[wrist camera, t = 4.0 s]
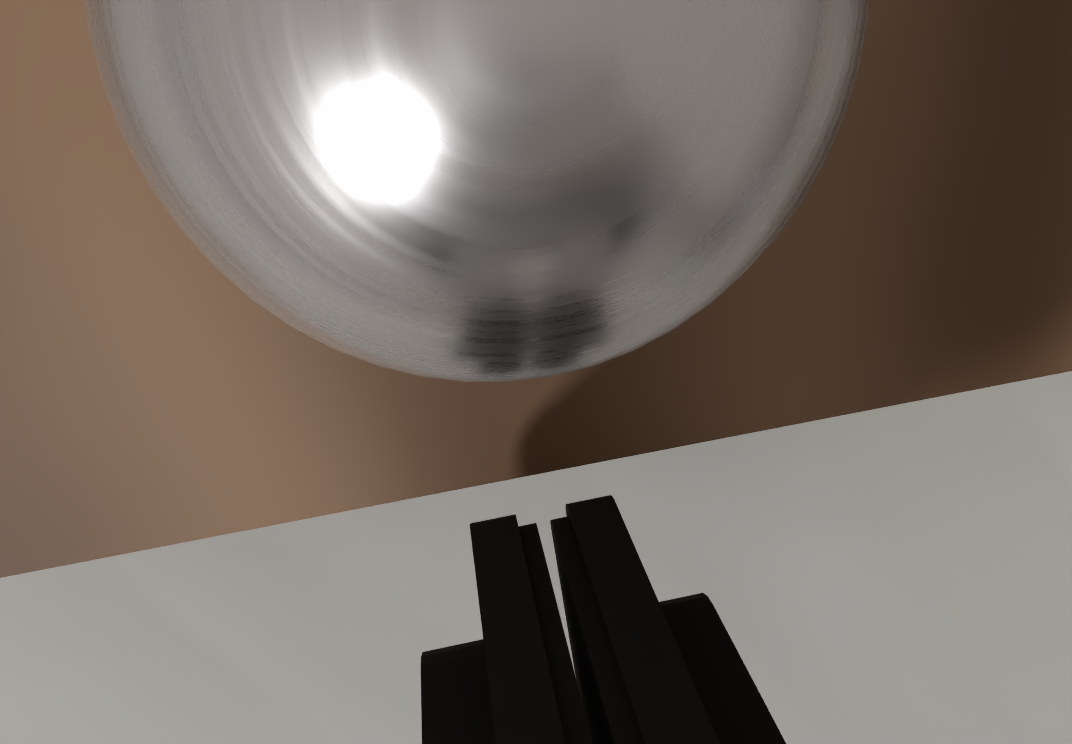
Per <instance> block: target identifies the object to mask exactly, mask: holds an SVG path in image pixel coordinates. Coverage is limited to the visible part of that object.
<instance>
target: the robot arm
mask: <svg viewBox="0 0 1072 744" xmlns="http://www.w3.org/2000/svg"><path fill="white" fill-rule="evenodd" d="M566 515H567V517H563V518H558V519H554V520H551V530H552V536H553V542H554V548H555V554H556V560H557V566H558V572H559V578H560V584H561V590H562V596H563V602H564V608H565V614H566V621H567V627H568V633H569V639H570V645H571V651H572V657H573V663H574V669H575V673H574V669H573V665H572V661H571V657H570V653H569V650H568V646H567V642H566V638H565V634H564V630H563V626H562V622H561V618H560V614H559V610H558V606H557V603H556V599H555V595H554V591H553V587H552V583H551V579H550V575H549V571H548V567H547V563H546V559H545V556H544V552H543V548H542V544H541V540H540V536H539V532H538V528H537V525H536V523H534V524H529V525H524V526H519V527H518V523H517V519H516V515H510V516H505V517H500V518H495V519H490V520H486V521H481V522H476V523H471V524H470V531H471V539H472V547H473V556H474V564H475V572H476V581H477V589H478V597H479V606H480V614H481V622H482V631H483V640H478V641H473V642H468V643H464V644H459V645H454V646H450V647H445V648H440V649H435V650H431V651H426V652H423V653H422V656H421V706H422V744H786V743H785V741H784V739H783V737H782V735H781V733H780V731H779V729H778V727H777V725H776V724H775V722H774V720H773V718H772V716H771V714H770V712H769V710H768V708H767V706H766V705H765V703H764V701H763V699H762V697H761V695H760V693H759V691H758V689H757V687H756V686H755V684H754V682H753V680H752V678H751V676H750V674H749V672H748V670H747V668H746V667H745V665H744V663H743V661H742V659H741V657H740V655H739V653H738V651H737V649H736V648H735V646H734V644H733V642H732V640H731V638H730V636H729V634H728V632H727V630H726V629H725V627H724V625H723V623H722V621H721V619H720V617H719V615H718V613H717V611H716V610H715V608H714V606H713V604H712V602H711V601H710V599H709V598H708V596H707V595H705V594H704V593H700V594H695V595H691V596H686V597H681V598H676V599H672V600H667V601H662V602H658V599H657V597H656V595H655V592H654V590H653V588H652V586H651V583H650V581H649V579H648V576H647V574H646V572H645V569H644V567H643V565H642V562H641V560H640V558H639V556H638V553H637V551H636V549H635V546H634V544H633V542H632V539H631V537H630V535H629V533H628V530H627V528H626V526H625V523H624V521H623V519H622V516H621V514H620V512H619V509H618V507H617V505H616V503H615V500H614V498H613V497H612V496H611V495H609V496H604V497H599V498H595V499H590V500H585V501H580V502H575V503H570V504H566ZM575 675H576V677H575Z"/></svg>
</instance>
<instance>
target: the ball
mask: <svg viewBox="0 0 1072 744" xmlns="http://www.w3.org/2000/svg"><path fill="white" fill-rule="evenodd" d="M868 4H869V0H85V7H86V15H87V23H88V29H89V33H90V37H91V41H92V44H93V48H94V52H95V56H96V60H97V64H98V68H99V72H100V76H101V80H102V83H103V86H104V88H105V91H106V94H107V96H108V99H109V101H110V104H111V106H112V109H113V111H114V114H115V117H116V119H117V122H118V124H119V127H120V129H121V132H122V135H123V137H124V139H125V140H126V142H127V144H128V146H129V148H130V150H131V152H132V153H133V155H134V157H135V159H136V161H137V163H138V165H139V166H140V168H141V170H142V172H143V174H144V176H145V178H146V180H147V181H148V183H149V185H150V186H151V188H152V189H153V190H154V192H155V193H156V195H157V196H158V198H159V199H160V200H161V202H162V203H163V205H164V206H165V208H166V209H167V210H168V212H169V213H170V215H171V216H172V218H173V219H174V220H175V222H176V223H177V225H178V226H179V227H180V229H181V230H182V231H183V232H184V233H185V234H186V235H187V237H188V238H189V239H190V240H191V241H192V242H193V243H194V244H195V245H196V247H197V248H198V249H199V250H200V251H201V252H202V253H203V254H204V256H205V257H206V258H207V259H208V260H209V261H210V262H211V263H212V264H213V266H214V267H215V268H217V269H218V270H219V271H220V272H221V273H222V274H223V275H224V276H226V277H227V278H228V279H229V280H230V281H231V282H232V283H234V284H235V285H236V286H237V287H238V288H239V289H240V290H241V291H243V292H244V293H245V294H246V295H247V296H248V297H249V298H251V299H252V300H253V301H254V302H256V303H257V304H259V305H260V306H262V307H263V308H265V309H266V310H268V311H269V312H270V313H272V314H273V315H275V316H276V317H278V318H279V319H281V320H282V321H284V322H285V323H286V324H288V325H289V326H291V327H292V328H294V329H296V330H298V331H300V332H302V333H304V334H306V335H308V336H309V337H311V338H313V339H315V340H317V341H319V342H321V343H323V344H325V345H327V346H328V347H330V348H332V349H334V350H337V351H340V352H342V353H345V354H347V355H350V356H353V357H355V358H358V359H361V360H363V361H366V362H369V363H371V364H374V365H376V366H380V367H384V368H388V369H393V370H397V371H401V372H405V373H409V374H413V375H417V376H421V377H430V378H438V379H446V380H454V381H463V382H509V381H517V380H525V379H534V378H542V377H550V376H554V375H558V374H562V373H567V372H571V371H575V370H579V369H583V368H587V367H591V366H594V365H597V364H599V363H602V362H605V361H607V360H610V359H612V358H615V357H618V356H620V355H623V354H626V353H628V352H631V351H633V350H635V349H637V348H639V347H641V346H643V345H645V344H647V343H649V342H651V341H653V340H654V339H656V338H658V337H660V336H662V335H664V334H666V333H668V332H670V331H672V330H673V329H675V328H676V327H678V326H679V325H680V324H682V323H683V322H685V321H686V320H688V319H689V318H691V317H692V316H694V315H695V314H697V313H698V312H699V311H701V310H702V309H704V308H705V307H707V306H708V305H709V304H711V303H712V302H713V301H714V300H715V299H716V298H717V297H719V296H720V295H721V294H722V293H723V292H724V291H725V290H727V289H728V288H729V287H730V286H731V285H732V284H733V283H735V282H736V281H737V280H738V279H739V278H740V277H742V276H743V274H744V273H745V272H746V271H747V270H748V269H749V268H750V267H751V266H752V265H753V263H754V262H755V261H756V260H757V259H758V258H759V257H760V256H761V255H762V254H763V252H764V251H765V250H766V249H767V248H768V247H769V246H770V245H771V244H772V243H773V241H774V240H775V239H776V237H777V236H778V235H779V233H780V232H781V231H782V229H783V228H784V226H785V225H786V224H787V222H788V221H789V219H790V218H791V217H792V215H793V214H794V213H795V211H796V210H797V208H798V207H799V206H800V204H801V203H802V201H803V199H804V198H805V196H806V194H807V192H808V191H809V189H810V187H811V185H812V183H813V182H814V180H815V178H816V176H817V175H818V173H819V171H820V169H821V167H822V166H823V164H824V162H825V160H826V158H827V155H828V153H829V151H830V148H831V146H832V144H833V141H834V139H835V137H836V134H837V132H838V130H839V127H840V125H841V122H842V120H843V118H844V115H845V112H846V108H847V105H848V102H849V98H850V95H851V92H852V88H853V85H854V82H855V78H856V75H857V71H858V68H859V63H860V57H861V51H862V46H863V40H864V35H865V29H866V24H867V18H868Z"/></svg>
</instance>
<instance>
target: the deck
mask: <svg viewBox="0 0 1072 744" xmlns="http://www.w3.org/2000/svg"><path fill="white" fill-rule="evenodd" d="M1068 371H1072V0H869V4H868V18H867V24H866V29H865V35H864V40H863V46H862V51H861V57H860V63H859V68H858V71H857V75H856V78H855V82H854V85H853V88H852V92H851V95H850V98H849V102H848V105H847V108H846V112H845V115H844V118H843V120H842V122H841V125H840V127H839V130H838V132H837V134H836V137H835V139H834V141H833V144H832V146H831V148H830V151H829V153H828V155H827V158H826V160H825V162H824V164H823V166H822V167H821V169H820V171H819V173H818V175H817V176H816V178H815V180H814V182H813V183H812V185H811V187H810V189H809V191H808V192H807V194H806V196H805V198H804V199H803V201H802V203H801V204H800V206H799V207H798V208H797V210H796V211H795V213H794V214H793V215H792V217H791V218H790V219H789V221H788V222H787V224H786V225H785V226H784V228H783V229H782V231H781V232H780V233H779V235H778V236H777V237H776V239H775V240H774V241H773V243H772V244H771V245H770V246H769V247H768V248H767V249H766V250H765V251H764V252H763V254H762V255H761V256H760V257H759V258H758V259H757V260H756V261H755V262H754V263H753V265H752V266H751V267H750V268H749V269H748V270H747V271H746V272H745V273H744V274H743V276H742V277H740V278H739V279H738V280H737V281H736V282H735V283H733V284H732V285H731V286H730V287H729V288H728V289H727V290H725V291H724V292H723V293H722V294H721V295H720V296H719V297H717V298H716V299H715V300H714V301H713V302H712V303H711V304H709V305H708V306H707V307H705V308H704V309H702V310H701V311H699V312H698V313H697V314H695V315H694V316H692V317H691V318H689V319H688V320H686V321H685V322H683V323H682V324H680V325H679V326H678V327H676V328H675V329H673V330H672V331H670V332H668V333H666V334H664V335H662V336H660V337H658V338H656V339H654V340H653V341H651V342H649V343H647V344H645V345H643V346H641V347H639V348H637V349H635V350H633V351H631V352H628V353H626V354H623V355H620V356H618V357H615V358H612V359H610V360H607V361H605V362H602V363H599V364H597V365H594V366H591V367H587V368H583V369H579V370H575V371H571V372H567V373H562V374H558V375H554V376H550V377H542V378H534V379H525V380H517V381H509V382H463V381H454V380H446V379H438V378H430V377H421V376H417V375H413V374H409V373H405V372H401V371H397V370H393V369H388V368H384V367H380V366H376V365H374V364H371V363H369V362H366V361H363V360H361V359H358V358H355V357H353V356H350V355H347V354H345V353H342V352H340V351H337V350H334V349H332V348H330V347H328V346H327V345H325V344H323V343H321V342H319V341H317V340H315V339H313V338H311V337H309V336H308V335H306V334H304V333H302V332H300V331H298V330H296V329H294V328H292V327H291V326H289V325H288V324H286V323H285V322H284V321H282V320H281V319H279V318H278V317H276V316H275V315H273V314H272V313H270V312H269V311H268V310H266V309H265V308H263V307H262V306H260V305H259V304H257V303H256V302H254V301H253V300H252V299H251V298H249V297H248V296H247V295H246V294H245V293H244V292H243V291H241V290H240V289H239V288H238V287H237V286H236V285H235V284H234V283H232V282H231V281H230V280H229V279H228V278H227V277H226V276H224V275H223V274H222V273H221V272H220V271H219V270H218V269H217V268H215V267H214V266H213V264H212V263H211V262H210V261H209V260H208V259H207V258H206V257H205V256H204V254H203V253H202V252H201V251H200V250H199V249H198V248H197V247H196V245H195V244H194V243H193V242H192V241H191V240H190V239H189V238H188V237H187V235H186V234H185V233H184V232H183V231H182V230H181V229H180V227H179V226H178V225H177V223H176V222H175V220H174V219H173V218H172V216H171V215H170V213H169V212H168V210H167V209H166V208H165V206H164V205H163V203H162V202H161V200H160V199H159V198H158V196H157V195H156V193H155V192H154V190H153V189H152V188H151V186H150V185H149V183H148V181H147V180H146V178H145V176H144V174H143V172H142V170H141V168H140V166H139V165H138V163H137V161H136V159H135V157H134V155H133V153H132V152H131V150H130V148H129V146H128V144H127V142H126V140H125V139H124V137H123V135H122V132H121V129H120V127H119V124H118V122H117V119H116V117H115V114H114V111H113V109H112V106H111V104H110V101H109V99H108V96H107V94H106V91H105V88H104V86H103V83H102V80H101V76H100V72H99V68H98V64H97V60H96V56H95V52H94V48H93V44H92V41H91V37H90V33H89V29H88V23H87V15H86V7H85V0H0V578H1V577H6V576H11V575H16V574H22V573H27V572H32V571H37V570H42V569H47V568H53V567H58V566H63V565H68V564H73V563H79V562H84V561H89V560H94V559H99V558H104V557H110V556H115V555H120V554H125V553H130V552H136V551H141V550H146V549H151V548H156V547H161V546H167V545H172V544H177V543H182V542H187V541H193V540H198V539H203V538H208V537H213V536H218V535H224V534H229V533H234V532H239V531H244V530H250V529H255V528H260V527H265V526H270V525H275V524H281V523H286V522H291V521H296V520H301V519H307V518H312V517H317V516H322V515H327V514H332V513H338V512H343V511H348V510H353V509H358V508H364V507H369V506H374V505H379V504H384V503H389V502H395V501H400V500H405V499H410V498H415V497H421V496H426V495H431V494H436V493H441V492H446V491H452V490H457V489H462V488H467V487H472V486H477V485H483V484H488V483H493V482H498V481H503V480H509V479H514V478H519V477H524V476H529V475H534V474H540V473H545V472H550V471H555V470H560V469H566V468H571V467H576V466H581V465H586V464H591V463H597V462H602V461H607V460H612V459H617V458H623V457H628V456H633V455H638V454H643V453H648V452H654V451H659V450H664V449H669V448H674V447H680V446H685V445H690V444H695V443H700V442H705V441H711V440H716V439H721V438H726V437H731V436H737V435H742V434H747V433H752V432H757V431H762V430H768V429H773V428H778V427H783V426H788V425H794V424H799V423H804V422H809V421H814V420H819V419H825V418H830V417H835V416H840V415H845V414H851V413H856V412H861V411H866V410H871V409H876V408H882V407H887V406H892V405H897V404H902V403H908V402H913V401H918V400H923V399H928V398H933V397H939V396H944V395H949V394H954V393H959V392H964V391H970V390H975V389H980V388H985V387H990V386H996V385H1001V384H1006V383H1011V382H1016V381H1021V380H1027V379H1032V378H1037V377H1042V376H1047V375H1053V374H1058V373H1063V372H1068Z"/></svg>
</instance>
